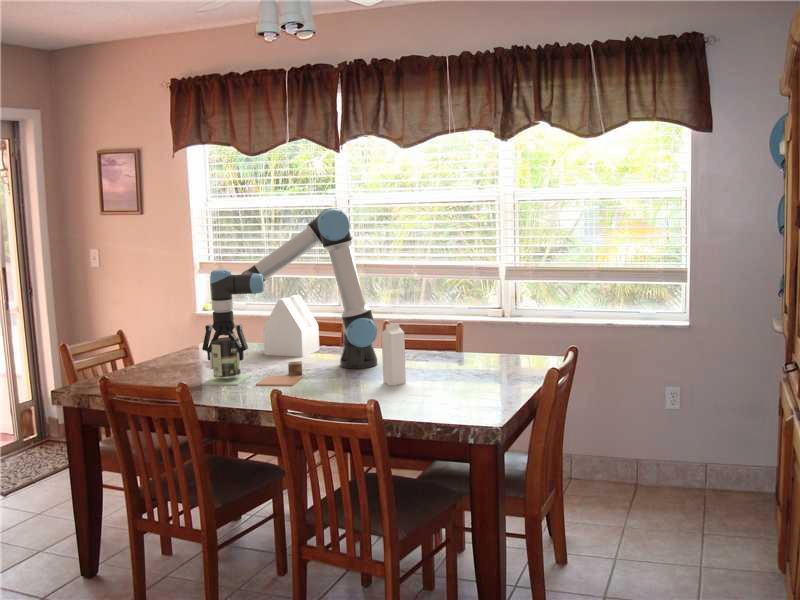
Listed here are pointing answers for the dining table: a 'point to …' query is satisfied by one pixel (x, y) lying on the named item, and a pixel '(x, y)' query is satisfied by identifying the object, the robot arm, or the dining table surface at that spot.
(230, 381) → the pad green
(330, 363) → the dining table surface
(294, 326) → the white house block
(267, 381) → the pad terracotta
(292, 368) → the walnut block
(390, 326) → the milk
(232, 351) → the coffee can
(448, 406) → the dining table surface
